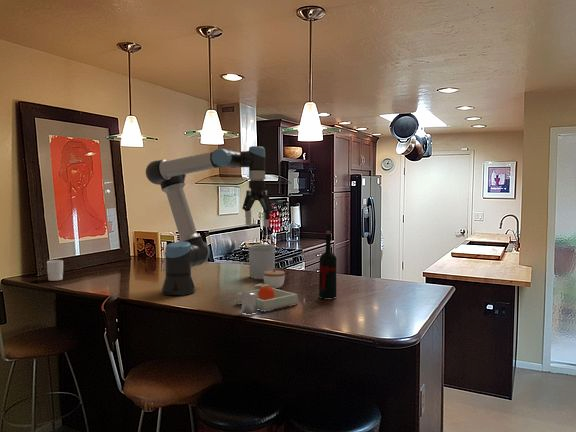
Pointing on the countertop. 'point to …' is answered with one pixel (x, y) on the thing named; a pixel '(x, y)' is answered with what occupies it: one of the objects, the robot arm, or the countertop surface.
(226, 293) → the countertop surface
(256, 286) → the wood block
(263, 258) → the utensil holder
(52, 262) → the white cup
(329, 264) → the wine bottle
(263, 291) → the clementine
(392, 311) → the countertop surface
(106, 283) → the countertop surface
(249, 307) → the metal can
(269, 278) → the lidded jar
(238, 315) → the countertop surface
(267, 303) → the sage tray
